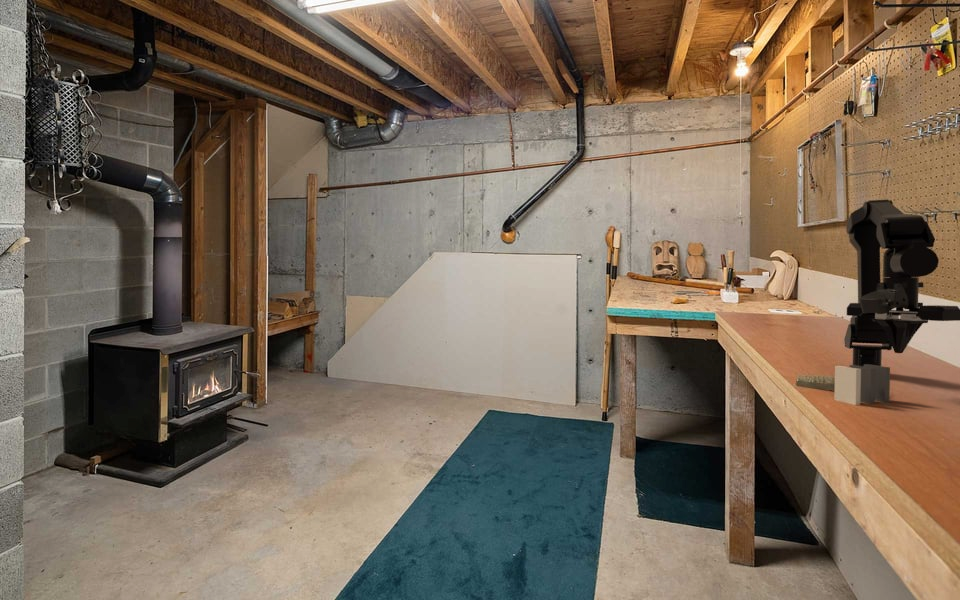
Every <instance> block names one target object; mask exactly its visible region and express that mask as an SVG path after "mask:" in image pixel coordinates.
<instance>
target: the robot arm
mask: <svg viewBox="0 0 960 600" xmlns="http://www.w3.org/2000/svg"><path fill="white" fill-rule="evenodd" d="M893 203H894V202H893V201H892V199H891V200H890V199H872V200H868V201H864V202H863V205H862V206H861V207H859V208H857V209H855V210H854V211H853V212H851V213H850V214H849V216H848V219H847V222H846V225H845V226H846V234H847V235H848V239H849V243H850V245H852V247H853V249H855V250H856V252H857V256H856V257H857V258H856V259H857V302H850V303H849V304H848V306H847V307H846V316H848V317H849V316H851V317H850V319H849V320H850V321H849V322H850V323H849V324H848V326H847V330H846V331H845V334H844V335H845V336H844V347H845V348H847V349H850V350H851V349H852V365H857V366H864V364H870V365H877V366H882V353H883V351H882V350H885V351H892V350H893V351H894V353H895V354H903V353H904V351H905V349H906V348H907V347H908V345H909V344H910V342H911V340H912V338H913V337H914V336H915V334H916V333H917V332H918V330H919V329H920V328H921V327H922V325H923V324H928V323H929V321H933V322H935V321H936V322H949V321H950V322H951V321H952V322H954V321H956V322H957V321H958V322H960V307H959V306H958V305H943V304H942V305H940V304H939V305H936V304H935V305H933V304H932V305H923V304H924V302H919V288H924V282H923V281H921V282H920V281H919V280H920V279H919V278H920V277H925V276H929V275H930V274H932V273H933V272H935V271H936V269H937V267H938V266H939V261H940V259H939V257H938V254H937V253H936V252H935V251H934V250H933V249H931V248H934V245H935V241H936V239H935V236H934V234H933V231H932V229H931V227H930V225H929V222H928V221H927V220H925V217H924V216H922V215H919V214H914V213H913V214H911V213H910V214H909V213H907V214H906V213H903V211H901V209H898V208H897V207H896V206H895V205H894V204H893ZM881 249H882V250H883V249H884V250H885V251H884V253H883V256H882V257H883V259H882V260H883V261H882V282H881ZM854 343H855V344H854Z"/></svg>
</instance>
